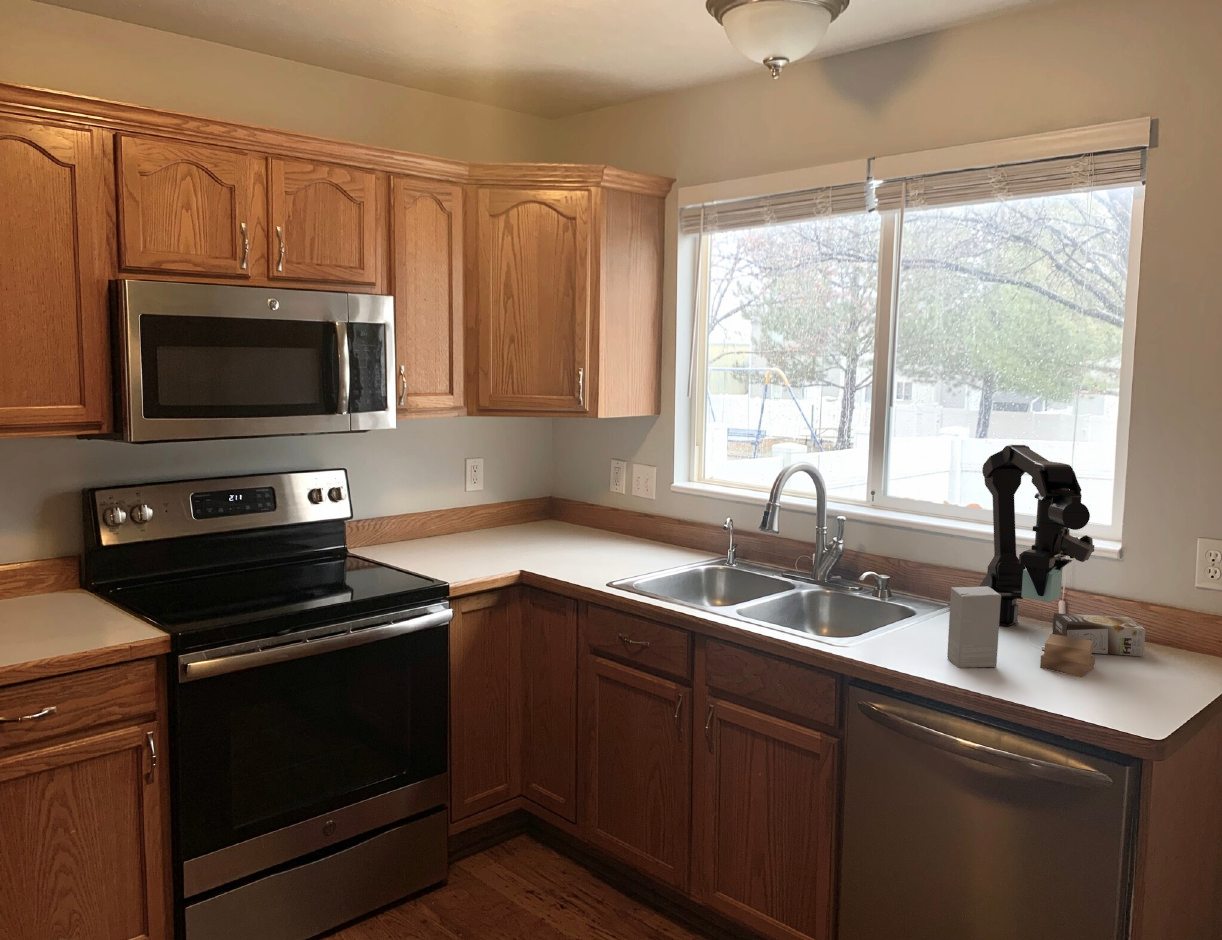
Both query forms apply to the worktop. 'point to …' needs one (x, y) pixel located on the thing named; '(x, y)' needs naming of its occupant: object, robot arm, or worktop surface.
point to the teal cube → (1051, 588)
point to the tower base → (1067, 666)
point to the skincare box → (973, 626)
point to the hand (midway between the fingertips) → (1046, 593)
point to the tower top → (1068, 649)
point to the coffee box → (1103, 632)
